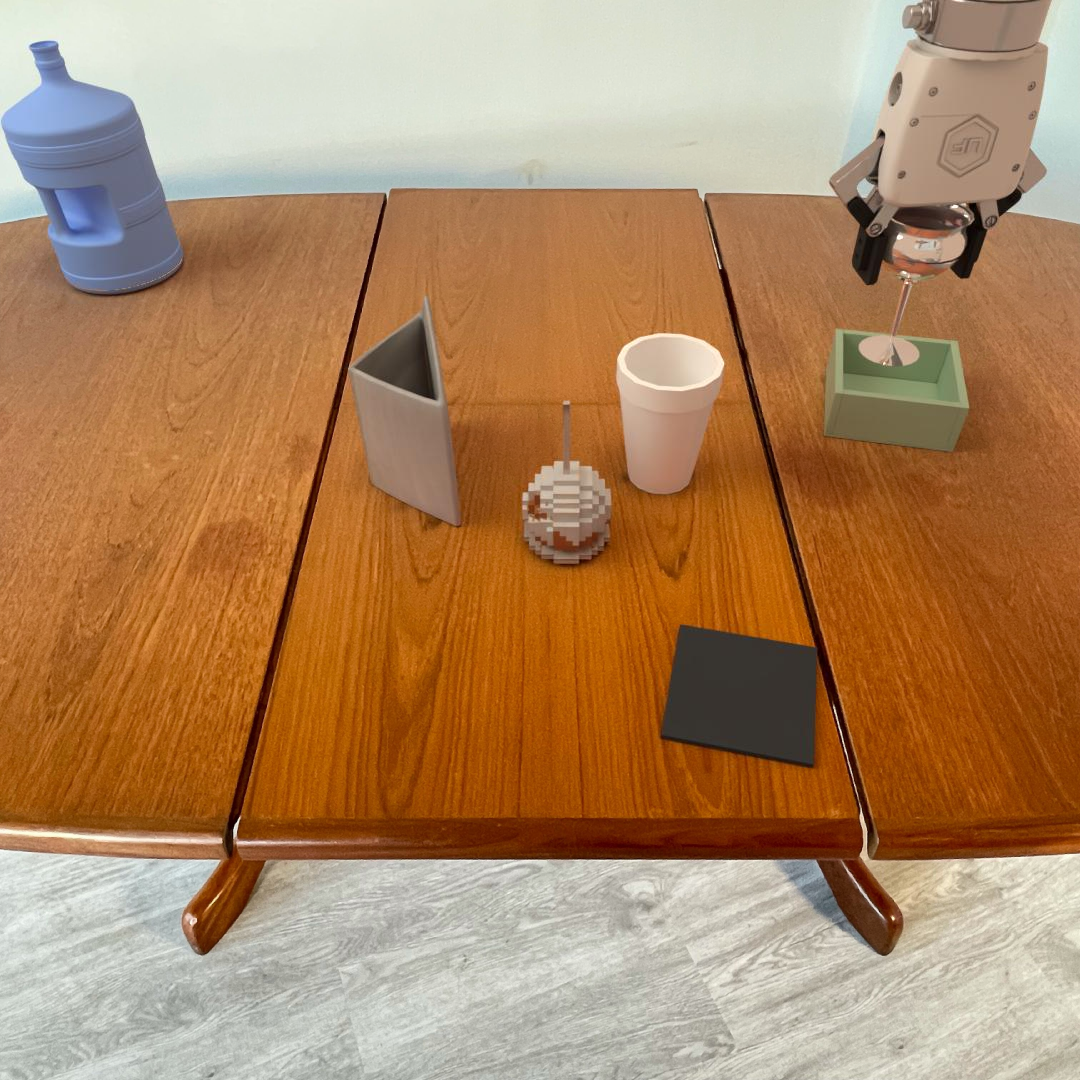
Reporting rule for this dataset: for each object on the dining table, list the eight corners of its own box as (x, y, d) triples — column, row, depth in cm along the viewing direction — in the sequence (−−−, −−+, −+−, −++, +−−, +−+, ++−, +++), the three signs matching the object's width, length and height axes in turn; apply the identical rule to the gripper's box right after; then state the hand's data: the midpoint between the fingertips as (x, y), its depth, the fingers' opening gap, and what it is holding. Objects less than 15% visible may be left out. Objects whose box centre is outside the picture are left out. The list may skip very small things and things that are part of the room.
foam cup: (654, 433, 92) (664, 322, 83) (726, 472, 87) (745, 359, 78) (592, 474, 87) (596, 362, 78) (665, 518, 82) (677, 404, 73)
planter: (366, 435, 93) (331, 263, 79) (440, 424, 94) (419, 253, 80) (377, 539, 81) (339, 358, 68) (462, 526, 82) (441, 345, 69)
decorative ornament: (526, 509, 84) (520, 375, 73) (607, 509, 83) (613, 375, 73) (522, 567, 78) (515, 431, 68) (610, 568, 78) (616, 432, 67)
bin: (942, 383, 97) (957, 340, 94) (952, 452, 89) (969, 408, 85) (825, 370, 100) (835, 328, 96) (824, 436, 91) (835, 392, 87)
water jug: (140, 234, 129) (64, 19, 110) (209, 262, 122) (141, 37, 103) (43, 277, 120) (-58, 51, 101) (112, 309, 113) (18, 73, 94)
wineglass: (832, 352, 75) (864, 214, 67) (872, 322, 78) (907, 187, 70) (907, 381, 71) (950, 239, 63) (945, 348, 75) (990, 209, 67)
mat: (816, 651, 71) (817, 647, 70) (812, 768, 63) (814, 764, 63) (679, 627, 73) (680, 623, 72) (660, 738, 65) (660, 734, 65)
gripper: (873, 44, 55) (818, 304, 67) (1141, 28, 56) (1039, 289, 68) (833, 14, 60) (789, 260, 72) (1078, 1, 61) (994, 246, 73)
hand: (910, 272), depth 70 cm, fingers closed on wineglass, 6 cm apart
